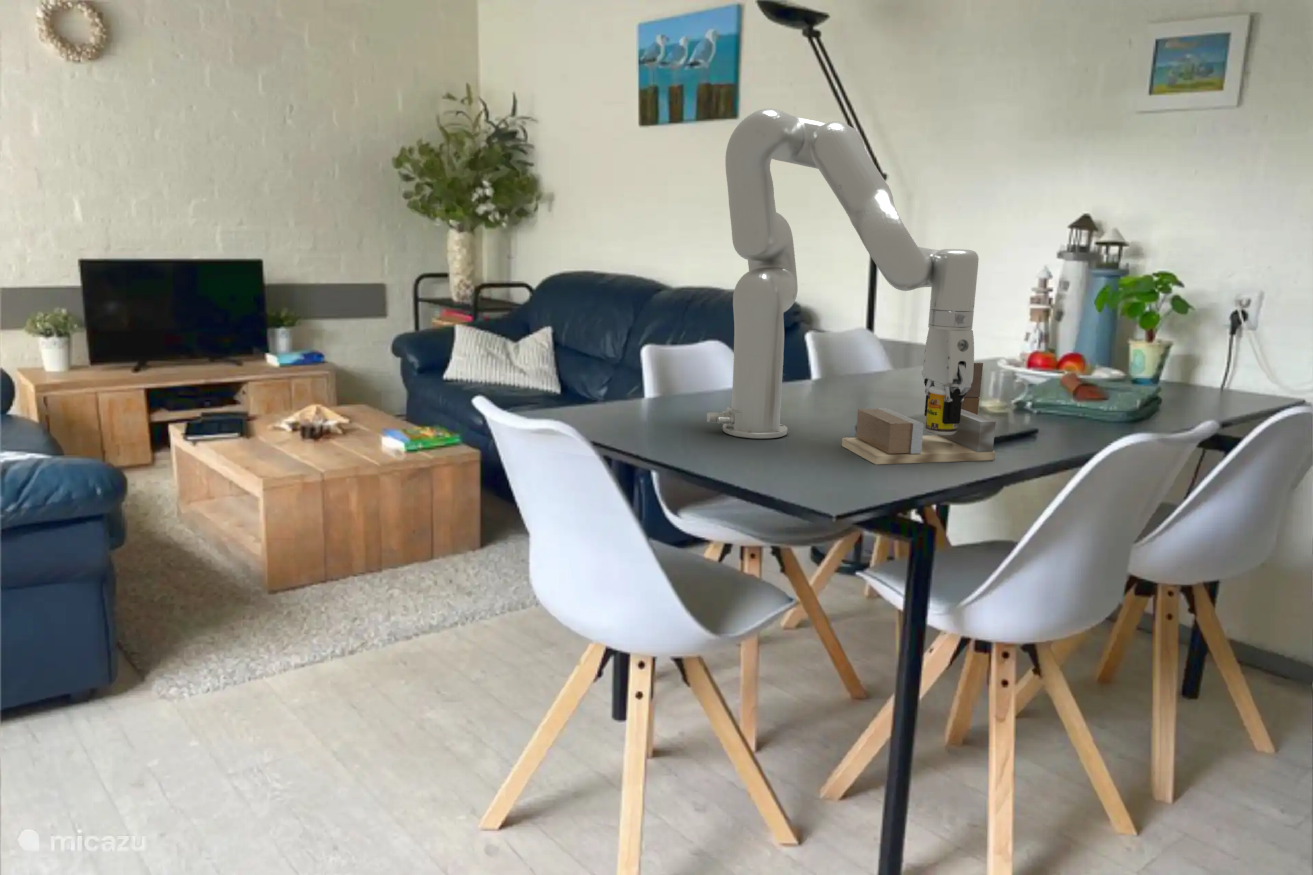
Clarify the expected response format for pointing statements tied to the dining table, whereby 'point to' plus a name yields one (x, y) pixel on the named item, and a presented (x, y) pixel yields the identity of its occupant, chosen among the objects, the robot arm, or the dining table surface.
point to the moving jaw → (889, 431)
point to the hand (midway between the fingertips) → (941, 418)
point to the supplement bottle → (938, 411)
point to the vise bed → (939, 444)
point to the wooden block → (973, 391)
